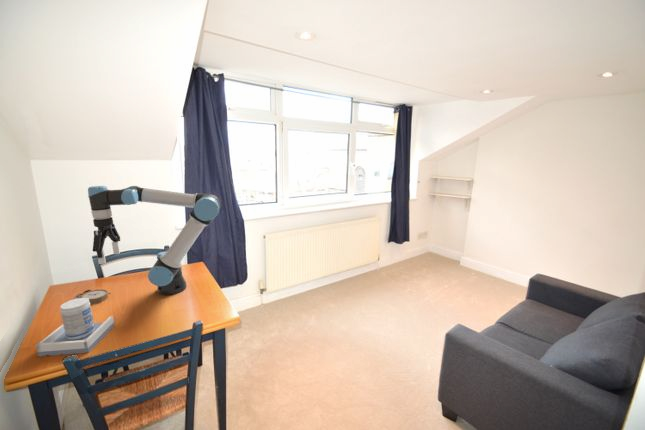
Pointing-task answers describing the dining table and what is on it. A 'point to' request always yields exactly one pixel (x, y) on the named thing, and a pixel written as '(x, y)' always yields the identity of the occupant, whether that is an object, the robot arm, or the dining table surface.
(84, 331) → the supplement tub
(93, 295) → the alarm clock
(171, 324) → the dining table surface
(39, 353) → the dock
